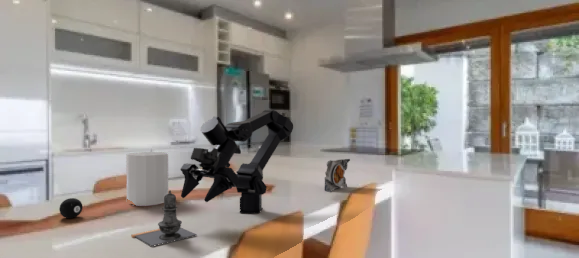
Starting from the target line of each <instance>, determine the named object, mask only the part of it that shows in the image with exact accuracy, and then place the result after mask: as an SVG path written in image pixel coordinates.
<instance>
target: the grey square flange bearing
mask: <svg viewBox="0 0 579 258" xmlns="http://www.w3.org/2000/svg"><path fill="white" fill-rule="evenodd" d="M350 161H351V159H350V158H345V159H344V158H343V159H336V160H332V159H330V160H328V161H327V162H325V163H326V171H325V173H324V174H325V177H324V191H325V192H328V193H332V191H334V189H341V188H347V187H348V184H347V183H346V180H347V178H346V177H345V172H346V171H347V169H348V163H349V162H350Z"/></svg>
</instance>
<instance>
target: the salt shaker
mask: <svg viewBox="0 0 579 258" xmlns="http://www.w3.org/2000/svg"><path fill="white" fill-rule="evenodd" d="M176 199H177V197H176V195H175V193H172V190H168V194H167V195H165V196H164V203H163V208H162V210H163V217H162V218H163V219H162V220H161V221H159V222H158V223H157V226H158V229H160V231H161V232H162V233H164V234H162V235H161V236H160V237H159V238H160V239H161V240H173V239H177V238H179V237H180V236H181V235H180V234H179V233H177V231H178V230H179V229H180V227H181V228H182V223H183V222H182V220H180V219H178V218H177V209H178V207H177V200H176Z"/></svg>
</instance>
